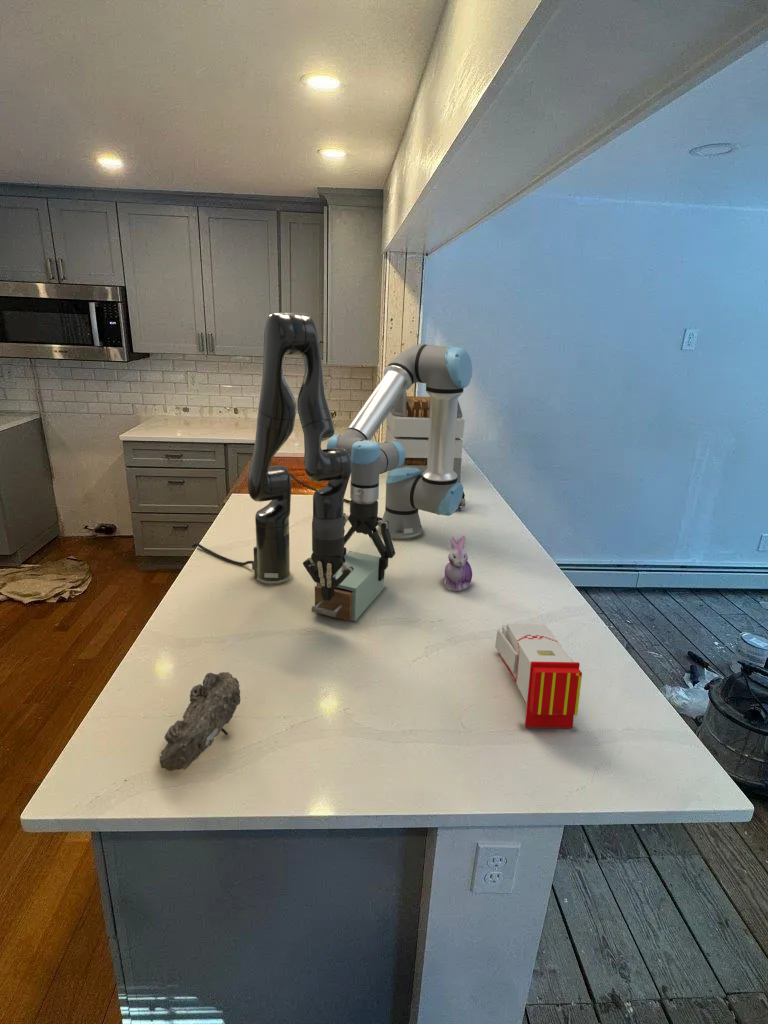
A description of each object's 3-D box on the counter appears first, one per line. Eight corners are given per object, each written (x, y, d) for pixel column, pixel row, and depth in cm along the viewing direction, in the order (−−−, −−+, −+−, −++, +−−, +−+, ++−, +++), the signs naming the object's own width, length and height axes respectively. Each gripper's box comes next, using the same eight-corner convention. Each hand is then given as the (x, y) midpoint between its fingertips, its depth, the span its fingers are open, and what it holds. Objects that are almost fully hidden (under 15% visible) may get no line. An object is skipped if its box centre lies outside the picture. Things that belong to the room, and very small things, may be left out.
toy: (542, 608, 134) (591, 669, 104) (537, 660, 136) (583, 734, 107) (491, 607, 133) (526, 668, 104) (487, 660, 136) (520, 733, 107)
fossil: (187, 673, 113) (240, 640, 108) (220, 704, 116) (274, 673, 111) (134, 764, 94) (196, 730, 89) (175, 799, 97) (237, 767, 92)
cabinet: (355, 621, 143) (356, 588, 140) (316, 611, 147) (316, 579, 144) (384, 588, 161) (385, 557, 158) (348, 580, 164) (349, 550, 161)
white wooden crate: (382, 463, 289) (386, 382, 275) (445, 464, 293) (451, 384, 279) (390, 482, 257) (394, 392, 243) (460, 483, 261) (468, 394, 247)
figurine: (453, 595, 158) (458, 546, 153) (434, 580, 167) (437, 532, 161) (481, 589, 162) (486, 541, 157) (460, 574, 171) (465, 528, 166)
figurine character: (465, 515, 224) (460, 499, 237) (467, 498, 221) (462, 483, 234) (448, 515, 224) (444, 499, 237) (450, 498, 220) (445, 482, 234)
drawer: (340, 631, 137) (341, 604, 134) (304, 622, 140) (304, 595, 137) (377, 589, 158) (378, 565, 155) (345, 582, 161) (346, 558, 158)
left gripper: (295, 533, 131) (296, 600, 137) (347, 543, 127) (346, 611, 133) (310, 523, 138) (311, 587, 144) (360, 532, 134) (358, 598, 139)
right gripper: (318, 497, 151) (317, 571, 158) (400, 511, 143) (396, 588, 151) (330, 489, 158) (329, 561, 165) (410, 502, 150) (405, 577, 157)
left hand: (327, 599), depth 138 cm, fingers closed
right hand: (361, 574), depth 158 cm, fingers closed on cabinet, 11 cm apart
